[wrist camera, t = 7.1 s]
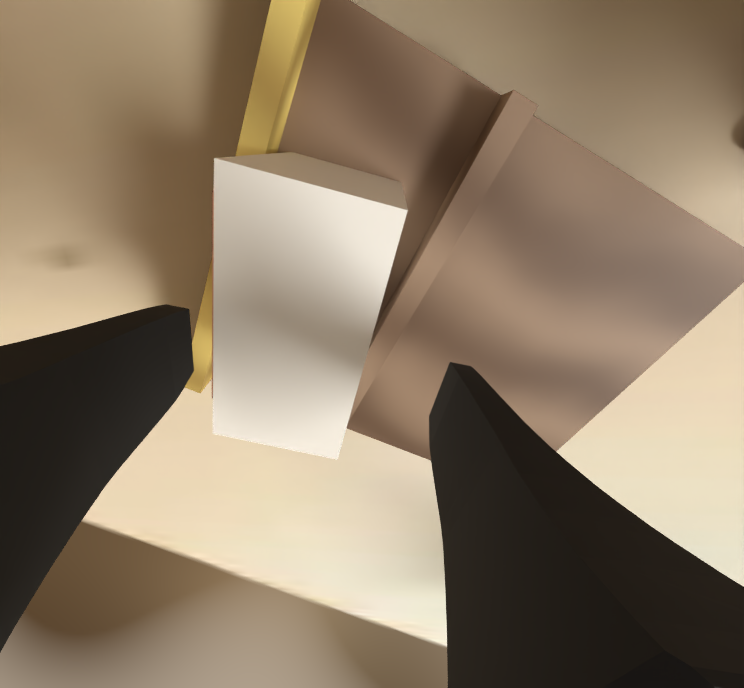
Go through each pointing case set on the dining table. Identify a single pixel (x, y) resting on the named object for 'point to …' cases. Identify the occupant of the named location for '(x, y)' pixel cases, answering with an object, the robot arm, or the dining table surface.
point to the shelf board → (479, 231)
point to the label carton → (296, 294)
